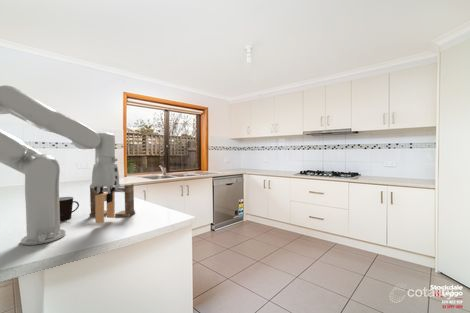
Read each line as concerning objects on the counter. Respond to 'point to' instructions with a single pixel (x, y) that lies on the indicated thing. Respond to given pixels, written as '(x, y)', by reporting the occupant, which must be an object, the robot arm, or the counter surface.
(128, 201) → the rack
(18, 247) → the counter surface
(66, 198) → the coffee mug
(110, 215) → the tan c-shaped bracket
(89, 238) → the counter surface
